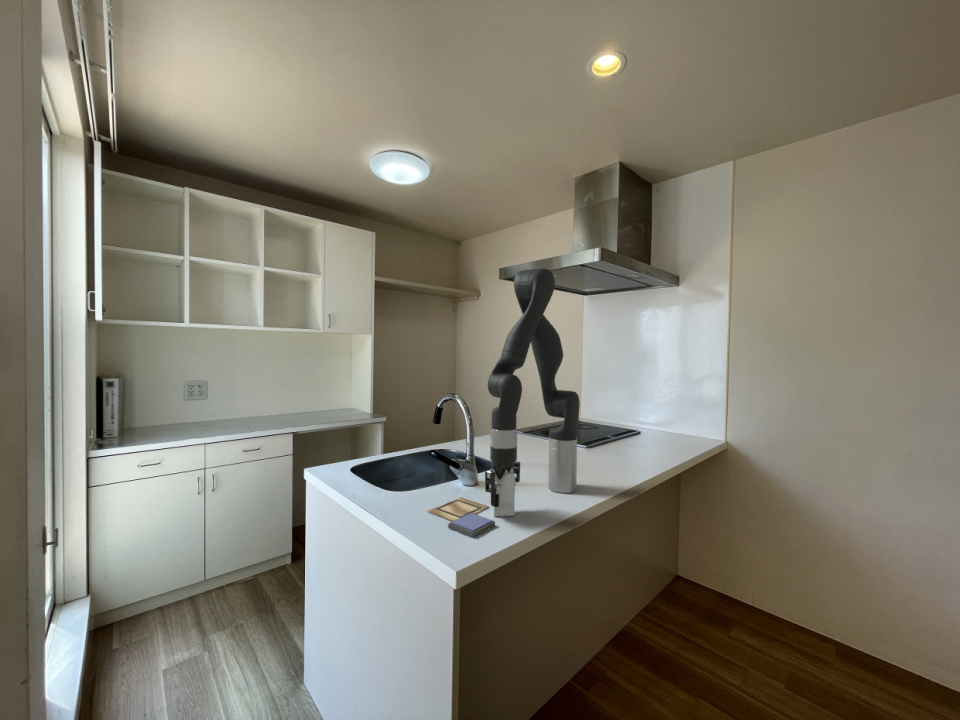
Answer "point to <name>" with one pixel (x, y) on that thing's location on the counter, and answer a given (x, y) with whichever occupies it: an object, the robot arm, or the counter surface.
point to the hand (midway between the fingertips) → (503, 502)
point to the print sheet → (457, 509)
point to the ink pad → (471, 525)
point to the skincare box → (506, 497)
